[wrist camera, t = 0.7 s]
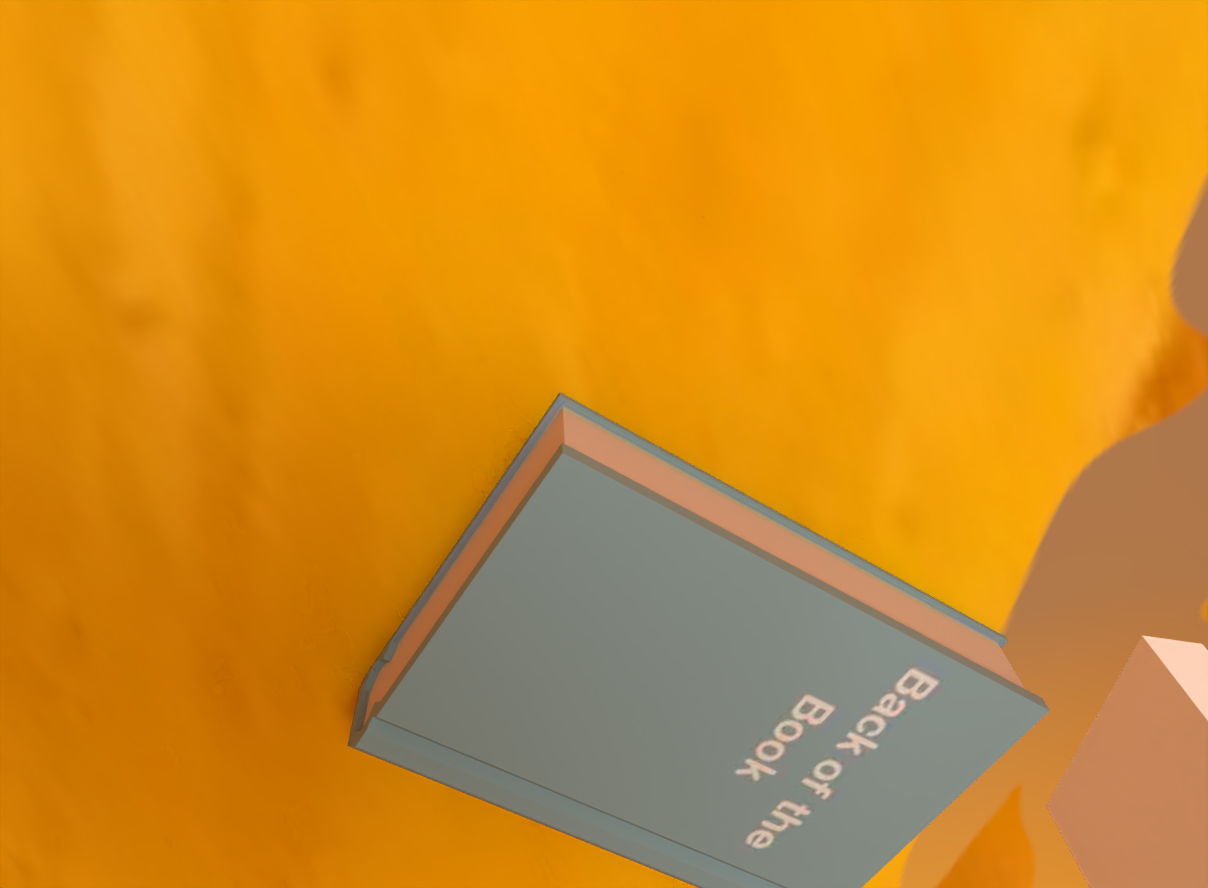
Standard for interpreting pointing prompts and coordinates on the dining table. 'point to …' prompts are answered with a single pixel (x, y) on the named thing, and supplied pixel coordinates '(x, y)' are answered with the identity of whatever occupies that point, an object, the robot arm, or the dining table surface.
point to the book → (686, 673)
